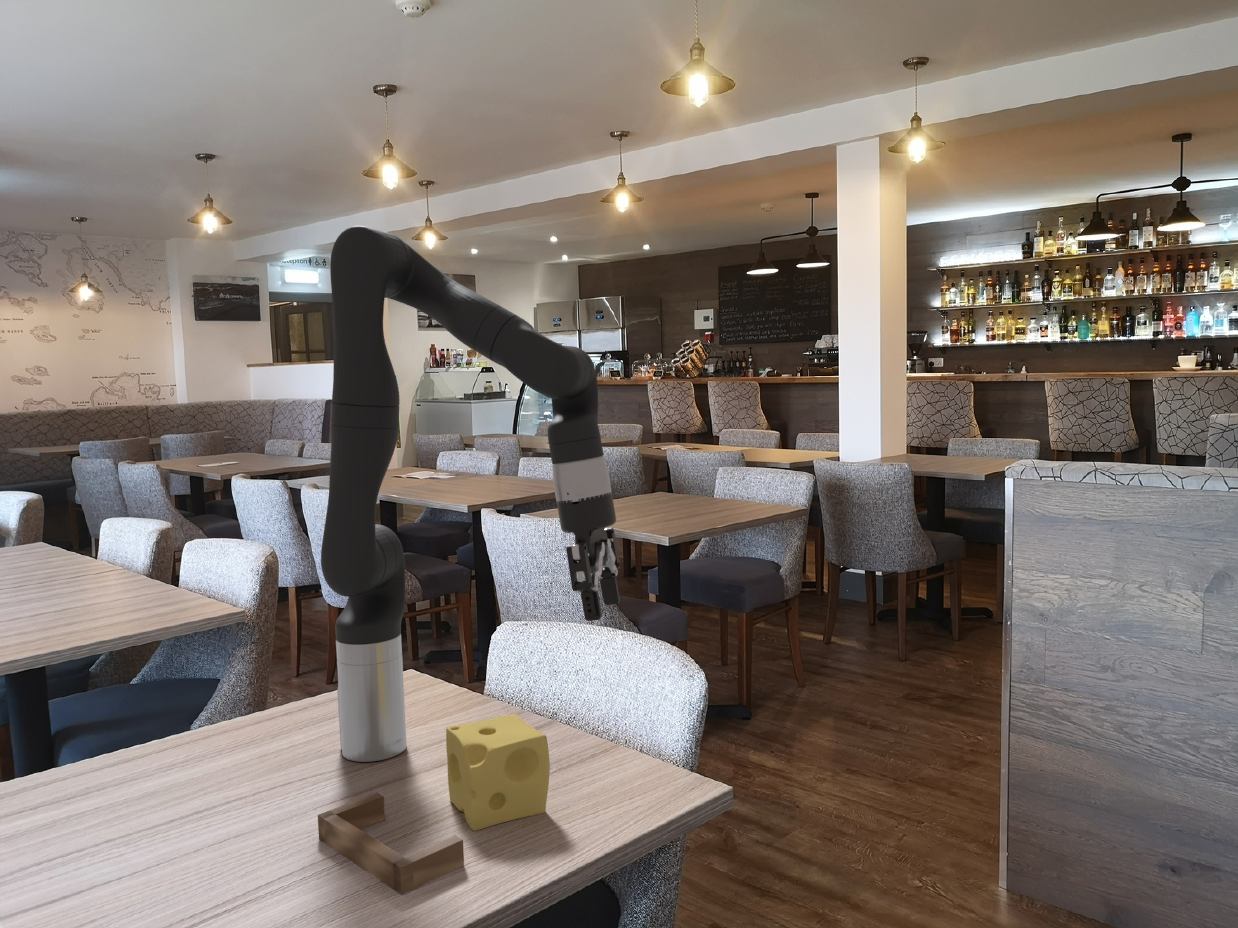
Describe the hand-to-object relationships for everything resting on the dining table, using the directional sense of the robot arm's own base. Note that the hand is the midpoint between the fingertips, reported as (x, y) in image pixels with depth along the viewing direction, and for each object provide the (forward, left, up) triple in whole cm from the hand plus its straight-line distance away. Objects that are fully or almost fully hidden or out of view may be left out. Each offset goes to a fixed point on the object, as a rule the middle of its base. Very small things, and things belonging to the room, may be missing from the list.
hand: (603, 611), depth 125 cm
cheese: (-3, -16, -23) cm, 28 cm away
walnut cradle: (-3, -32, -22) cm, 39 cm away
